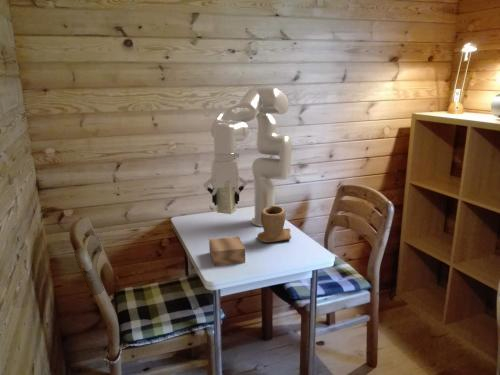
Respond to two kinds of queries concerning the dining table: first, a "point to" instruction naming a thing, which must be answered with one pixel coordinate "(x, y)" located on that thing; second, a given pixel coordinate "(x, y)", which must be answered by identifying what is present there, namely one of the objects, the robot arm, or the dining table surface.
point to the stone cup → (273, 225)
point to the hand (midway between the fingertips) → (225, 203)
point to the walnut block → (227, 251)
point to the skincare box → (226, 199)
